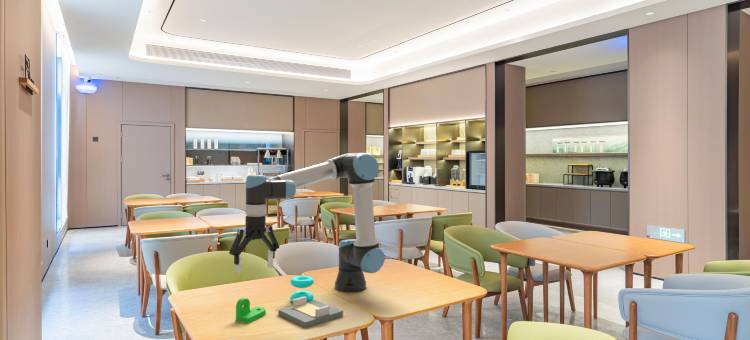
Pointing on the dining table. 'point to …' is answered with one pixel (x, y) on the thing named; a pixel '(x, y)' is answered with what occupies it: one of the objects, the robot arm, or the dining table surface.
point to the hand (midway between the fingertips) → (254, 270)
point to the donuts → (302, 283)
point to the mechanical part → (248, 311)
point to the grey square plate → (309, 312)
